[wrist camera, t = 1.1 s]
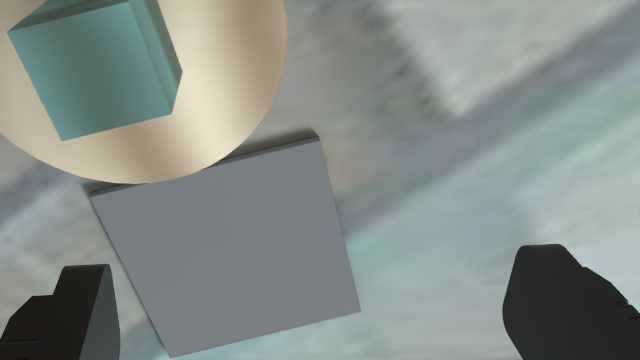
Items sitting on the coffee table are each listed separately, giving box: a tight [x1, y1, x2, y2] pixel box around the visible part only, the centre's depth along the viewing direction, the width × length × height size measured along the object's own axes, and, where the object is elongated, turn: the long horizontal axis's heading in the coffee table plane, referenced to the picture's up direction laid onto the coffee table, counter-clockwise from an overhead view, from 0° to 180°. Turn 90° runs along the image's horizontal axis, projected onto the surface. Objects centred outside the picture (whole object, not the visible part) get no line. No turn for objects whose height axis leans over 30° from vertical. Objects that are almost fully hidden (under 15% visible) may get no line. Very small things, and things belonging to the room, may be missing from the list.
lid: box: [0, 0, 287, 184], centre depth 22 cm, size 14×14×6 cm
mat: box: [89, 136, 361, 358], centre depth 38 cm, size 14×14×1 cm
